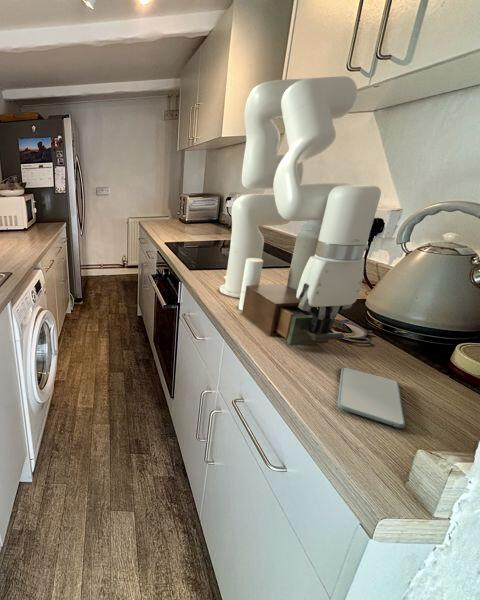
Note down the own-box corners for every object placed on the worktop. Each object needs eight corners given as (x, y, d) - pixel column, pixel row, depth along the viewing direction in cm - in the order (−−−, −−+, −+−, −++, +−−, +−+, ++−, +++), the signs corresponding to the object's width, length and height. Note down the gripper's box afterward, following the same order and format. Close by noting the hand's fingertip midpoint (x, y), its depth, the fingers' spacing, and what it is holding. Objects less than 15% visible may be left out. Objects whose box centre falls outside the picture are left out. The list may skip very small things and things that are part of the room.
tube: (240, 311, 93) (248, 261, 87) (237, 305, 97) (244, 257, 91) (256, 312, 92) (265, 261, 86) (252, 306, 96) (260, 258, 90)
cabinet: (309, 333, 79) (317, 301, 75) (269, 335, 78) (276, 303, 75) (276, 312, 91) (282, 283, 88) (241, 313, 91) (246, 285, 88)
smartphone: (398, 380, 59) (406, 426, 48) (397, 385, 59) (404, 431, 48) (341, 365, 64) (337, 404, 53) (340, 370, 64) (336, 409, 54)
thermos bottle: (318, 313, 89) (345, 211, 79) (309, 322, 84) (335, 214, 74) (287, 306, 95) (308, 209, 85) (276, 313, 90) (297, 212, 80)
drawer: (345, 354, 68) (354, 326, 65) (304, 356, 68) (311, 328, 65) (292, 320, 84) (297, 296, 81) (259, 322, 84) (263, 298, 81)
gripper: (359, 245, 66) (337, 324, 73) (289, 249, 66) (273, 327, 73) (394, 253, 59) (366, 339, 66) (315, 257, 59) (295, 343, 66)
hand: (317, 333), depth 69 cm, fingers closed
